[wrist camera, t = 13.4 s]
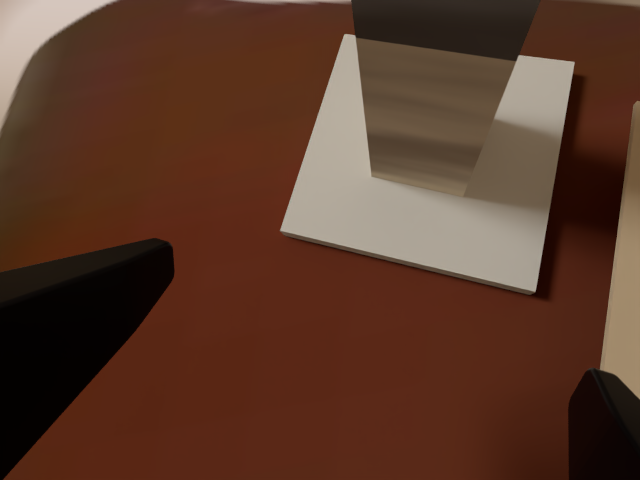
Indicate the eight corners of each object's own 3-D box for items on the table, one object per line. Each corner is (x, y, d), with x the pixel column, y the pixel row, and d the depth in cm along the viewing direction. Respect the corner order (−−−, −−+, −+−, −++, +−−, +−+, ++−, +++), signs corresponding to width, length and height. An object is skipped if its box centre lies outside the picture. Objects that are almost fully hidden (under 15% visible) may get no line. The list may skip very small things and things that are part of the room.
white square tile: (530, 295, 20) (535, 291, 19) (284, 235, 22) (280, 230, 22) (568, 72, 22) (574, 61, 22) (346, 44, 25) (344, 34, 24)
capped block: (463, 197, 21) (555, -40, 9) (371, 176, 22) (344, -59, 10) (483, 116, 22) (591, -193, 10) (395, 100, 23) (396, -196, 11)
